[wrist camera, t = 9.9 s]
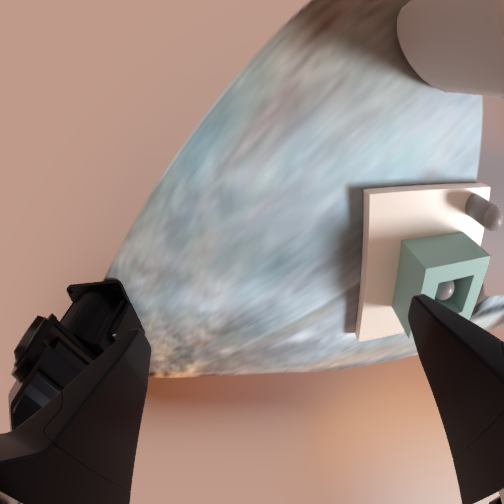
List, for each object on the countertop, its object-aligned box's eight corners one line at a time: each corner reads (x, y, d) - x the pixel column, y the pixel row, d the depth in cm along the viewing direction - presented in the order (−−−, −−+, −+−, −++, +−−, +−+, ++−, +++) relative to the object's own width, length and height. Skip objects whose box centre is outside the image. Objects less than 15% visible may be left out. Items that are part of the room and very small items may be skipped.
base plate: (354, 330, 25) (368, 370, 21) (362, 187, 19) (391, 214, 14) (452, 308, 25) (474, 339, 20) (479, 181, 18) (517, 203, 13)
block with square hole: (391, 306, 22) (408, 338, 19) (401, 240, 19) (426, 268, 16) (448, 293, 22) (468, 320, 18) (462, 231, 19) (490, 255, 15)
